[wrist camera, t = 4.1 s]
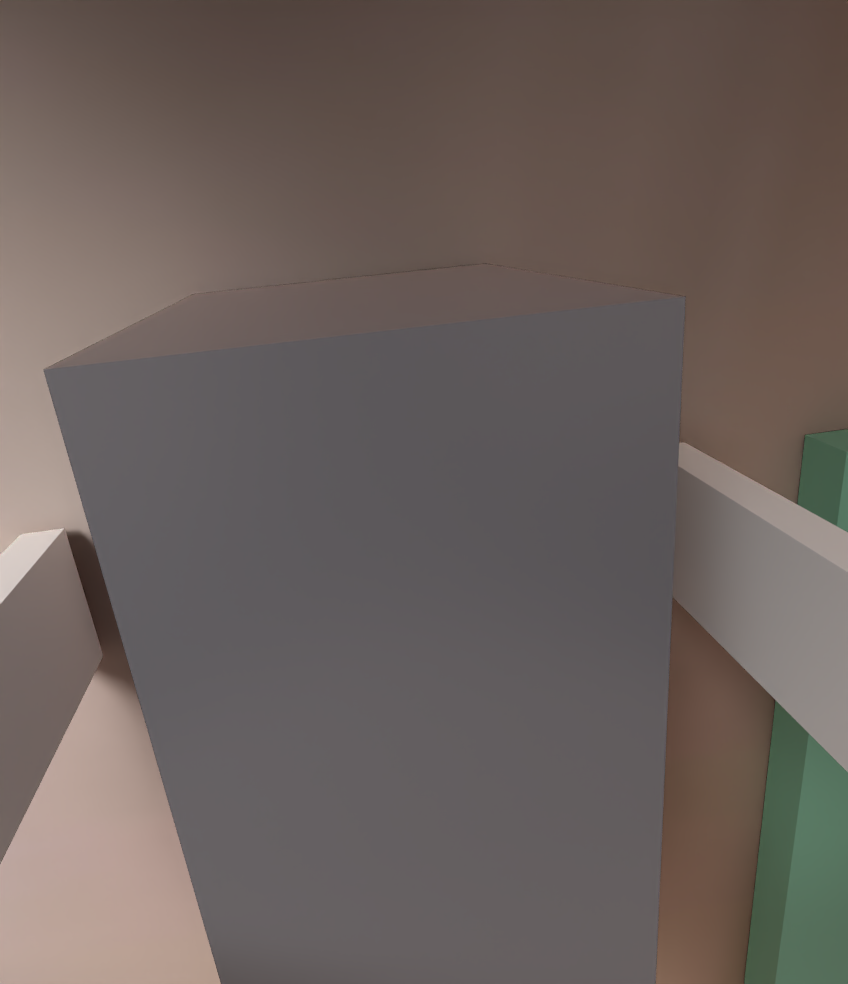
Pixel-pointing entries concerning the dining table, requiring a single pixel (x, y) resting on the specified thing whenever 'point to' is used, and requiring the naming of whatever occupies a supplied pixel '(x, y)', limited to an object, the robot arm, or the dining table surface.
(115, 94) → the dining table surface
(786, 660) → the robot arm
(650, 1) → the dining table surface
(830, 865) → the board
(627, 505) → the block
